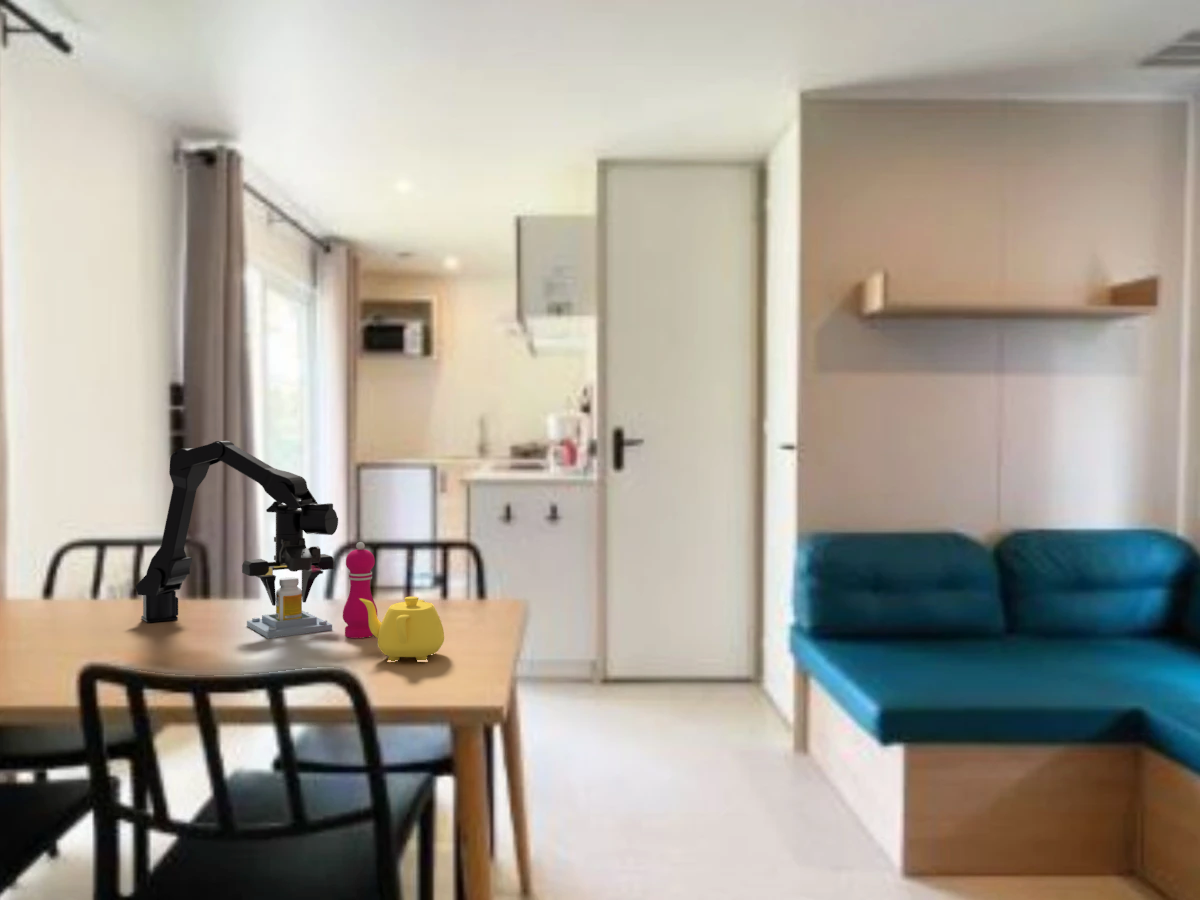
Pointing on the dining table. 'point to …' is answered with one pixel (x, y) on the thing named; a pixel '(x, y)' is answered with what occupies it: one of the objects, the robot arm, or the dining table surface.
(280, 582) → the supplement bottle
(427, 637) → the teapot
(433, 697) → the dining table surface
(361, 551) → the pepper mill
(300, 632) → the base plate
